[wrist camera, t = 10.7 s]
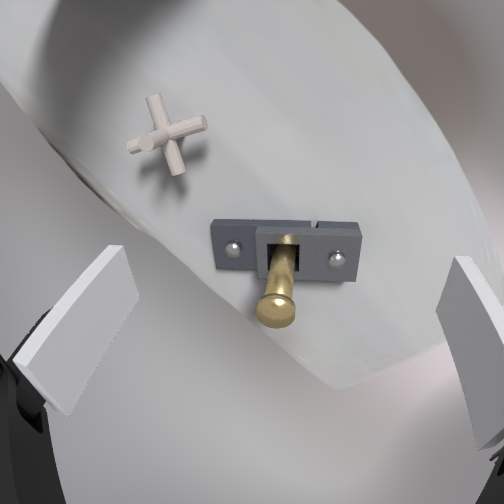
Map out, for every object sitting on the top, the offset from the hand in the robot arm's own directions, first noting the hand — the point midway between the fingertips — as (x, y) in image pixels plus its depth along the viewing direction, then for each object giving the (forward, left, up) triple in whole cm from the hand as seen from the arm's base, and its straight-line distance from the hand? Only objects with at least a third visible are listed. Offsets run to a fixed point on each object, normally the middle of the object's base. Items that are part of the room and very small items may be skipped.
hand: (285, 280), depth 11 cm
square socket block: (+15, -2, -29) cm, 32 cm away
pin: (+15, -2, -29) cm, 32 cm away
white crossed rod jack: (-2, -15, -29) cm, 33 cm away
